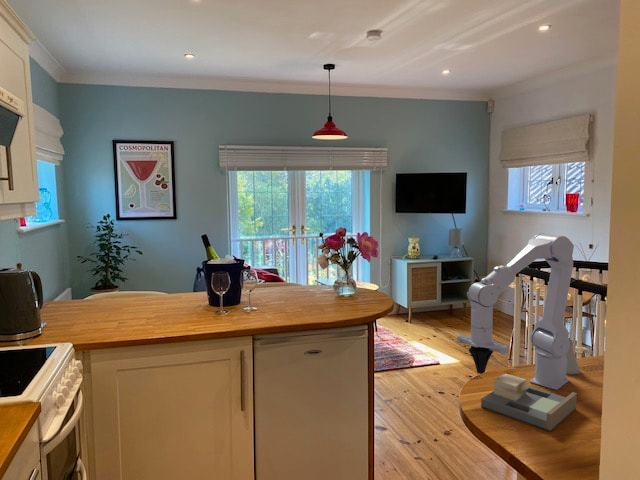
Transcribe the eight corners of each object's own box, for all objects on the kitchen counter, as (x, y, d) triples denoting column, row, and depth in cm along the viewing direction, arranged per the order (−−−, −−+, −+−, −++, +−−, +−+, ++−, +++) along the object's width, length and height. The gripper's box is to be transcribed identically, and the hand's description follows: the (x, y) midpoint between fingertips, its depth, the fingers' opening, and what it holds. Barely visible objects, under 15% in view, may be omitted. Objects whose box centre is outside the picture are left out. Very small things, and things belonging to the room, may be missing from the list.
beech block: (504, 387, 134) (505, 373, 133) (526, 393, 129) (526, 379, 129) (494, 393, 130) (494, 379, 129) (515, 400, 125) (515, 386, 125)
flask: (583, 376, 145) (584, 344, 144) (557, 374, 147) (558, 343, 146) (576, 366, 152) (577, 336, 151) (552, 365, 154) (552, 335, 153)
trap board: (509, 389, 138) (509, 374, 137) (576, 409, 125) (576, 393, 124) (481, 407, 127) (481, 391, 127) (550, 432, 114) (550, 414, 113)
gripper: (451, 323, 136) (450, 369, 138) (499, 334, 126) (498, 384, 127) (464, 318, 141) (464, 362, 143) (512, 328, 130) (510, 376, 132)
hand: (481, 372), depth 135 cm, fingers closed
